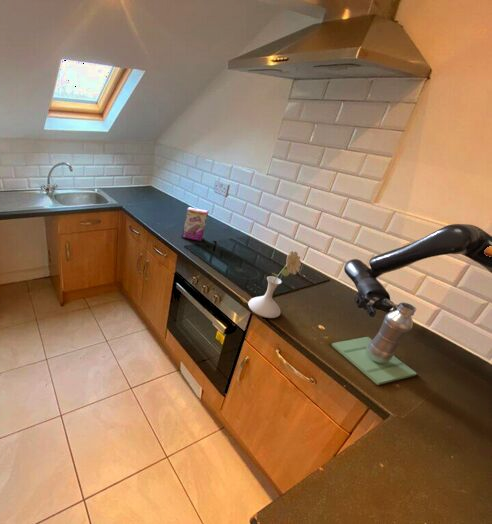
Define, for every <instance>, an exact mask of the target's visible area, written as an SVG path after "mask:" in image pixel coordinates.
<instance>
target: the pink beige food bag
mask: <svg viewBox="0 0 492 524" xmlns="http://www.w3.org/2000/svg"><path fill="white" fill-rule="evenodd" d="M209 211H210V210H206V209H201V208H196V207H190V206H188V207H187V209H186V214H185V219H184V225H183V230H182V235H181V238H184V239H187V240H188V239H189V240H194V241H197V242H202V240H203V237H204V232H205V228H206V225H207V221H208V216H209Z"/></svg>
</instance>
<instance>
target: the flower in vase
mask: <svg viewBox="0 0 492 524" xmlns="http://www.w3.org/2000/svg"><path fill="white" fill-rule="evenodd" d="M301 262H302V261H301V256H299V254H298V252H297V251H294V250H291V251H290V252H289V254H287V257H286V261H285V263H286V264H285V265H284V267H283V268H282V269H281V270H280V272H278V274H277V273H275V272H271V275H269V276H267V277H266V280H267V289H266V291H265V293H264V295H260V296H255V297H252V298H250V299H249V301H248V302H247V304H248V305H247V306H248V307H249V309H250V311H252V312H253V314H255V315H257V316H259V317H261V318H264V319H265V318H266V319H276V318H278V317H279V316H280V315H281V308H280V307H279V304H277V303H276V301H275V300H274V299H273V295H274V292H275V290H276V289H277V287H278V286H279V285H281V284H283V281H282V280H281V278H279V277H280V275H281V274H282V276H283V277H288V276H289V275H290V274H291V275H297V273H299V272H300V269H301V266H302V263H301Z"/></svg>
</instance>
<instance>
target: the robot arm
mask: <svg viewBox="0 0 492 524" xmlns="http://www.w3.org/2000/svg"><path fill="white" fill-rule="evenodd" d="M489 246H492V235H491V234H489V233H488V232H486V230H484V229H483V228H481V227H479V226H477V225H474V224H467V223H452V224H448V225H445V226H443V227H441V228H439V229H437V230H435V231H433V232H431V233H430V234H429V233H428V235H425V236H424V237H421V238H420V239H417V240H416V241H413V242H410V243H408V244H406V245H403V246H401V247H398V248H395V249H391V250H389V251H385V252H382V253H380V254H377V255H375V256H372V257H370V259H369V263H368V264H369V265H367V264H366V263H365V262H364V261H362V260H361V259H358V258H354V259H353V258H352V259H349V260H348V261H347V262H346V263H345V264H344V267H343V271H344V274H346V276H347V277H348V278H349V279H350V280H351V281H352V283H353V284H354V286H355V288H356V290H357V293H356V295H355V297H353V298H354V303H355V305H356V307H357V308H359V309H363V310H364V311H365V312H366V313H367V315H368V316H369V317H370V318H375V316H376V315H377V310H378V311H382V312H385V313H386V314H388V313H389V312H392V311H395V310H398V309H397V307H398V306H399V305H400V304H401V303H402V302H400V303H399V304H396V303H394V302H393V301H392V300H391V295H390V293H389V292H388V291H387V289H386V287H384V285H383V284H382V283H381V282H380V281H379V280H378V278H379V277H381V276H382V275H384V274H387V273H391V272H394V271H397V270H400V269H404V268H406V267H408V266H410V265H413V264H414V263H416V262H419V261H422V260H425V259H429V258H433V257H438V256H446V255H462V256H463V257H466V258H467V259H469V260H471V261H473V262H475V263H477V264H479V265H480V266H482V267H483V268H485V269H486V270H487V271H489V273H491V274H492V257H489V256H486V255H485V254H484V250H485V249H486V248H487V247H489Z"/></svg>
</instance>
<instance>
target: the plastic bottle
mask: <svg viewBox="0 0 492 524" xmlns="http://www.w3.org/2000/svg"><path fill="white" fill-rule="evenodd" d="M400 303H401V304H400ZM400 303H399V304H400V305H399V304H398V305H399V306H398V307H397V309H398V310H395V311H392V310H391V311H392V312H391V311H390V312H389V313H386V314H385V316H384V318H383V321H382V324H381V326H380V328H379V330H378V332H377V333H376V335H375V336H374V338H373V339H372V341H371V342H370V343H369V344H368V345H367V347H366V354H367V356H368V357H369V358H370V359H371V360H373V361H375V362H377V363H380V364H385V363H388V362H389V361H390V360H391V359H392V357H393V356H394V354H395V351H396V348H397V347H398V345H399V343H401V341H402V340H403V338H404V337H405V336H406V335H407V334H408V333H409V332H410V331H411V330H412V329H413V325H414V321H413V317H412V316H414V315H415V313H416V311H417V308H416V307H415V306H414V305H412V304H410V303H408V302H400Z"/></svg>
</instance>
